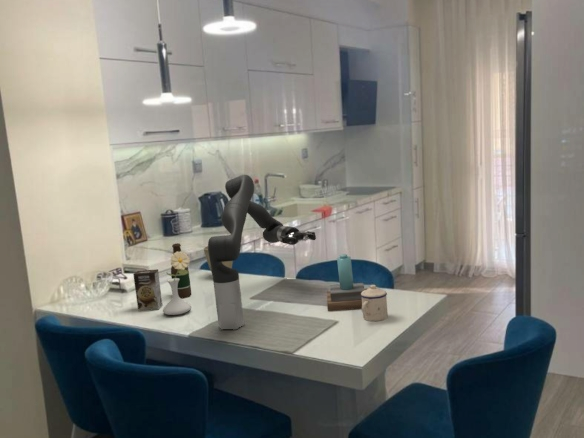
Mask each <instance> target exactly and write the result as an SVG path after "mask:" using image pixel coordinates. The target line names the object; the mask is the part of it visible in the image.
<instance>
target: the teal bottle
mask: <svg viewBox="0 0 584 438" xmlns="http://www.w3.org/2000/svg"><path fill="white" fill-rule="evenodd" d="M336 261H337V270H338V271H337V272H338V281H339V285H340V289H341V290H350V289H353V288H354V286H353V284H354V279H353V277H354V276H353V267H352V266H353V265H352V258H351V256H349V255H348V254H345V253H344V254H339V256H338V257H337V258H336Z"/></svg>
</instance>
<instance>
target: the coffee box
mask: <svg viewBox="0 0 584 438" xmlns="http://www.w3.org/2000/svg"><path fill="white" fill-rule="evenodd" d="M133 281H134V290H135V298H136V305H137V311H138V312H146V311H158V310H160V309H161V308H162V307H163V302H162V301H163V299H162V292H161V284H160V283H161V282H160V274H159V269H157V268H156V269H146V270H145V269H144V270H137V271H135V272H134V273H133Z"/></svg>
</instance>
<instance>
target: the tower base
mask: <svg viewBox="0 0 584 438" xmlns="http://www.w3.org/2000/svg"><path fill="white" fill-rule="evenodd" d="M353 286H354V288H353V289H350V290H341V289H340V284H331V285H329V287H330V290H329V291H328V290H327V293H326V306H327V307H326V308H327V311H328V312H333V311H335V312H337V311H347V310H360V309H361V310H362V297H361V293H362V292H363V291H364V290H367V289H368V288H365V285H364V283H363V282H357V283H354V282H353Z"/></svg>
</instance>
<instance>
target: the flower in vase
mask: <svg viewBox="0 0 584 438" xmlns="http://www.w3.org/2000/svg"><path fill="white" fill-rule="evenodd" d="M190 260H191V259H190V257H189V256H188V254H186V253H185V252H184V251H182V250H181V251H180V252H178V251H177V252H176V253H174V255H173V254H171V256H170V265H171V267H172V266H173V267H174V268H175V269H178V271H177V273H179V274H181V275H185V274H187V273H189V274H190V272H188V271H187V270H185V268H187V267H188V268H189V266H190ZM180 269H181V270H180ZM165 274H167V275H168V276H170V277H171V276H175V275H174V274H171V273H168V272H166V273H165ZM176 276H177V274H176ZM176 276H175V278H173V279H172V278H169V279H167V280H166V283H168V284H169V286H170V289H171V295H172V297H171V299H170V300H169V301H168V302H167V303H166V305H165V306H164V307H163V309H162V313H163V314H165V315H169V316H176V315H177V316H178V315H182V314H183V315H184V314H186V313H187V312H189V311H190V310H191V309H192V305H191V304H190V303H189V302H188V301H186V300H184V299H183V298H182V299H181V298H180V297H179V295H178V290H177V286H178V282H179V280H180V279H179V278H176Z"/></svg>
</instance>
